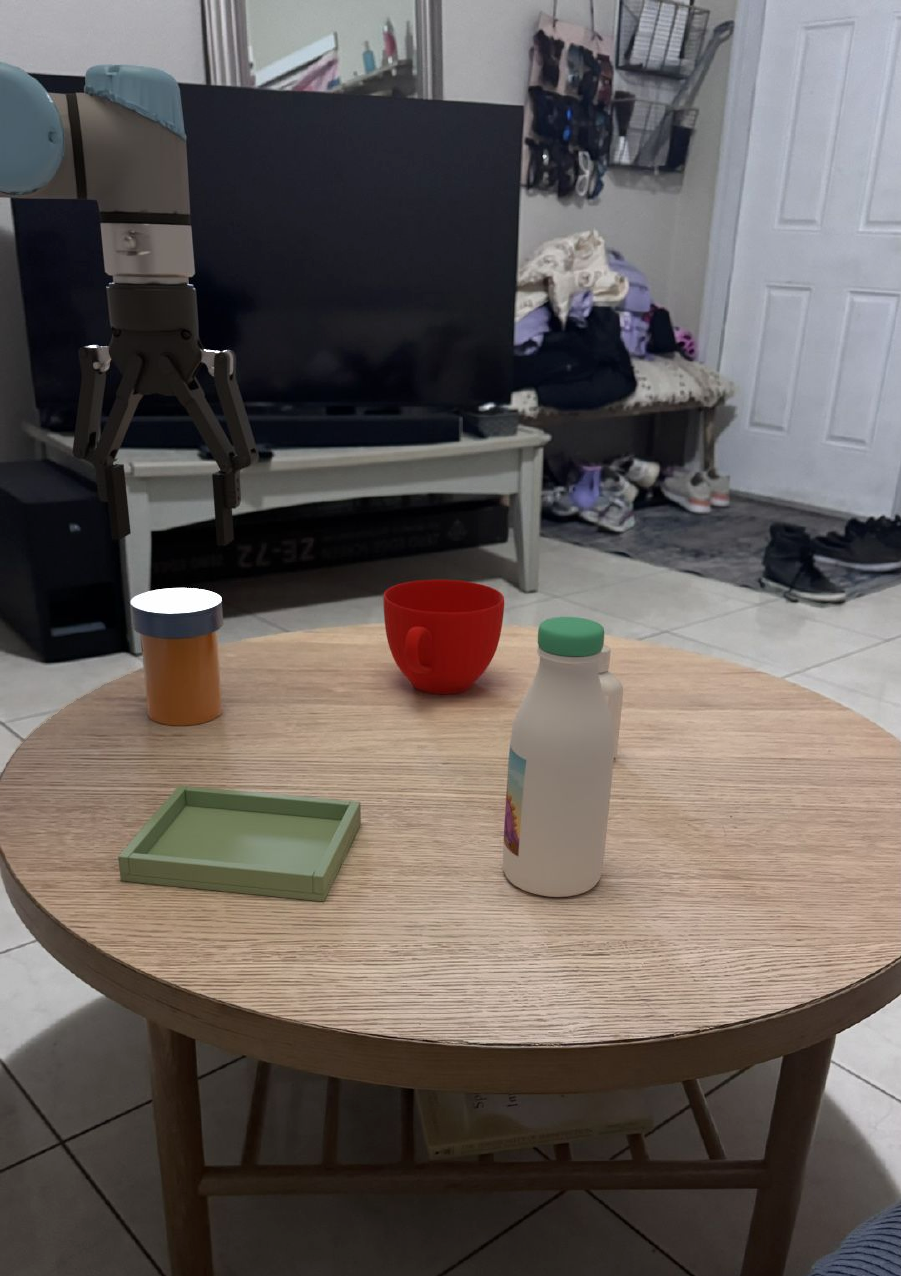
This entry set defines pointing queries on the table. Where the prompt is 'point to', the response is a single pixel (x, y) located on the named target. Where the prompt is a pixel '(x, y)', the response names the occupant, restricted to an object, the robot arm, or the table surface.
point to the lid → (176, 613)
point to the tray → (243, 843)
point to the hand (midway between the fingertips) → (173, 539)
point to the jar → (182, 679)
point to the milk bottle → (560, 766)
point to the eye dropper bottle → (611, 692)
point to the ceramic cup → (443, 632)
